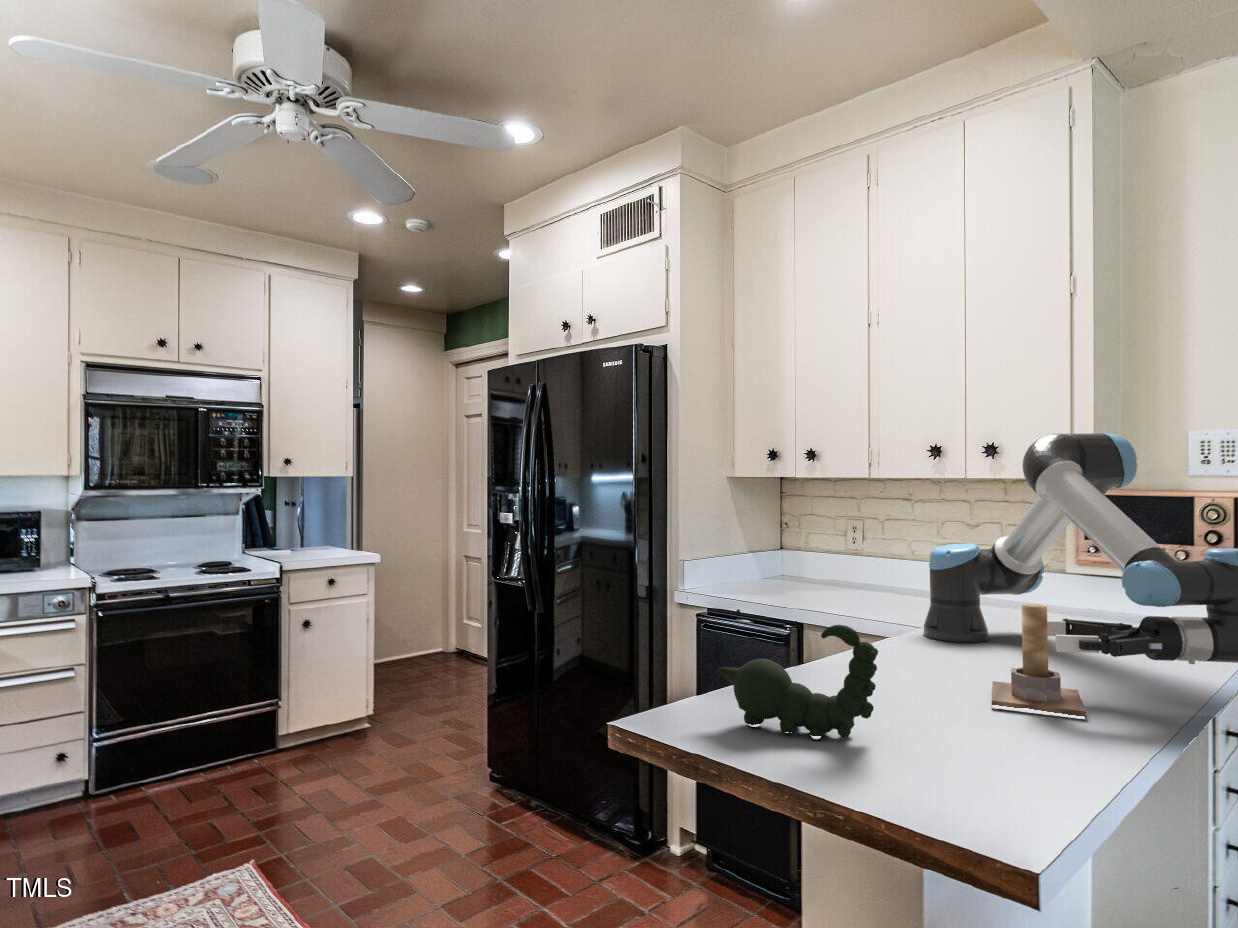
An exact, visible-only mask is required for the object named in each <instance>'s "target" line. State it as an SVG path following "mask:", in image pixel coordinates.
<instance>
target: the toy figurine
mask: <svg viewBox="0 0 1238 928" xmlns="http://www.w3.org/2000/svg"><path fill="white" fill-rule="evenodd" d="M820 637H821V638H822V639H826V638H828V637H836V638H838V639H840V640H841V641H843V643H844V644H846V645H848V646H849V647H853V648H852V656H853V657H852V658H851V659H850V661H849V663H848V674H847V675H846V676H845V678H844V679H843V687H842V688H841V689H839V691H838V692H837V694H836V695H831V696H829V695H826V694H823V693H819V692H814V693H813V692H812V691H811V690H810V688H808V687H807V686H806V685H804V684H803V683H802V684H801V683H800V682H799V683H797V682H792V679H791V676H790V674H789V673H788V672H787V671H786V669H785V668H784V667H783V666H782V665H780V664H779V663H777V662H775V661H773V660H771V659H769V658H757V659H752V660H750V661H747V662H746V663H743V665H741V667H728V666H727V667H726V666H725V667H723V666H722V667H718V668H717V671H718V673H719V674H721V675H722V676H723V677H724V678H725V679H726V680H727V681H728V682H730V683H731V685H733V693H734V697H735V700H736V703H737V704H738V705H737V706H738V708H739V709H740V710H743V712H744V714H743V719H744V721H743V722H744V723H745V724H746V723H747V724H751V725H754V724H755V725H756V724H761V723H762V722H763V723H764V721H765V720H769V719H770V720H772V719H775V718H777V719H778V720H779V721H780V722H779V728H780V729H779V730H780V731H781V732H782V733H784V732H789V733H791V732H793V733H794V732H795V731H797V728H802V727H803V728H804V729H806V730H807V731H808V730H809V731H808V732H809V733H808V734H810V735H812V736H822V737H823V736H824V734H827V732H828V733H830V732H831V731H833V730H837V735H839V736H840V737H841V738H848V737H849V736H850V735H851V733H852V729H853V728H854V726H855V721H854V720H855V718H856V717H861V718H863V719H866V720H867V719H869V718H870V717H872V712H873V713H874V705H873V704H872V703H871V702H869V701H868V698H870V697H871V696H873V693H874V691H875V690H876V685H877V684H876V683H875V682H873V681H872V679H873V678H874V676H875V674H876V672H877V670H878V667H877V664H876V663H875V662H874V661H876V659H877V657H878V654H879V650H878V648H877V647H874V645H873V644H872V643H870V642H868V641H860V635H859V633H858V632H857V631H856V630H855V629H854V628H852V627H851V626H848V625H843V624H833V625H831V626H829V627H827V628H825V629H824V630H823V631H822V633H821V636H820ZM747 724H746V725H747ZM823 733H824V734H823ZM810 735H809V736H810Z"/></svg>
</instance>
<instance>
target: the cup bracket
mask: <svg viewBox="0 0 1238 928" xmlns="http://www.w3.org/2000/svg"><path fill="white" fill-rule="evenodd" d="M1010 672H1011V673H1010V674H1011V682H1004V681H1003V682H1002V681H992V685H991V686H992V688H991V706H992V705H999V706H1007V707H1014V708H1029V709H1034V710H1041V711H1047V712H1054V713H1062V714H1068V715H1076V716H1084V717H1085V718H1086V709H1085V706H1084V704H1083V701H1082V699H1081V695H1080V693H1079V690H1078V689H1070V688H1061V686H1062V685H1061V684H1062V683H1061V682H1062V681H1061V674H1060V672H1057V671H1053V670H1049V669H1048V677H1034V676H1027V675H1023V666H1022V667H1012V668H1011V669H1010Z"/></svg>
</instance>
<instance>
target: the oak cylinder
mask: <svg viewBox="0 0 1238 928" xmlns="http://www.w3.org/2000/svg"><path fill="white" fill-rule="evenodd" d="M1047 621H1048V606H1047V605H1045V604H1044V605H1043V604H1037V603H1023V604H1021V638H1022V641H1021V643H1022V644H1021V645H1022V650H1021V651H1022V667H1023V675H1027V676H1034V677H1048V670H1049V639H1048V638H1049V636H1048V629H1047Z"/></svg>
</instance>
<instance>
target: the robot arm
mask: <svg viewBox="0 0 1238 928" xmlns="http://www.w3.org/2000/svg"><path fill="white" fill-rule="evenodd" d="M1137 460H1138V457H1137V454H1136V451H1135V449H1134V446H1133V445H1132V444H1131V442H1130V441H1129V440H1128V439H1127V438H1126V437H1124V436H1122V435H1120V434H1117V433H1116V434H1115V433H1106V432H1100V433H1051V434H1047V435H1044V436H1042V437H1040V438H1038V439H1036V440H1035V441H1033V443H1031V445H1029V447H1028V448H1027V449H1026V452H1025V453H1024V456H1023V459H1022V472H1023V476H1024V478H1025V481H1026V482H1027V484H1028V485H1029V487H1030V488H1031V489H1032V490H1033V492H1035V494H1037V496H1038V498H1036V500H1035V501H1034V502H1033V504H1032V505H1031V506H1030V508H1029V509H1028V511H1027V512H1026V513H1025V514H1024V516H1023V517H1022V518H1021V519H1020V520H1019V522H1018V523H1017V525H1016V526H1015V527H1014V528H1013V530H1012V532H1011V533H1009V535H1004V536H1001V537H999V538H998V539H997V540H996V541H995V542H994V544H993V546H992V547H991V548H982V549H981V548H980V546H979V545H978V544H976V543H954V544H953V543H952V544H945V545H941V546H937V547H934V548H933V549H931V551H930V553H929V562H928V563H929V564H928V567H929V591H930V592H929V595H930V598H929V599H930V602H929V603H930V604H929V608H928V611H927V614H926V616H925V617H926V618H925V620H924V624H923V636H925V637H927V638H930V639H934V640H938V641H946V642H953V643H954V642H955V643H980V642H985V641H988V640H989V629H988V626H987V623H986V620H985V618H984V614H983V613H982V609H981V596H984V595H985V596H986V595H988V596H989V595H1011V596H1012V595H1013V596H1015V595H1016V596H1017V595H1019V596H1020V595H1022V594H1028V593H1029V594H1030V593H1032V592H1033V591H1036V590H1037V589H1038V587H1040V585H1041V583H1043V582H1042V581H1043V578H1044V576H1043V574H1045V568H1044V562H1043V556H1044V554H1045V553H1047V551H1048V550H1049V548H1050V547H1051V546H1052V545H1053V544H1054V543H1055V542H1056V540H1057V539H1058V538H1059V537H1060V536H1061V534H1062V533H1063V532H1064V531H1065V530H1066V528H1067V527H1068V526H1069V525H1070V524H1071V523H1073V524H1074V525H1075V526H1076V527H1077V528H1078V529H1079V530H1080V531H1081V532H1082V533H1083V535H1084V536H1085V537H1087V538H1088V539H1089V541H1091V542H1092V544H1093V545H1095V546H1096V548H1098V550H1100V551H1101V553H1103V554H1104V555H1105V556H1106V558H1108V560H1110V561H1111V563H1112V564H1114V565H1115V567H1117V569H1118V570H1120V572H1121V573H1122V574H1121V575H1122V576H1121V586H1122V588H1123V589H1124V590H1125V595H1126V596H1127V598H1128V599H1129V600H1130V601H1131V602H1133V603H1135V604H1137V605H1139V606H1144V607H1156V608H1167V607H1178V606H1179V607H1180V606H1183V607H1184V606H1205V607H1206V613H1207V614H1206V615H1207V617H1200V616H1171V617H1170V616H1155V615H1150V616H1149V615H1148V616H1145V617H1143V618H1142V619H1141V620H1140V623H1139V626H1138V627H1136V626H1133V625H1132V624H1127V623H1123V622H1119V623H1117V622H1115V623H1114V622H1102V621H1091V620H1081V619H1071V618H1070V619H1069V618H1063V619H1062V620H1047V629H1048V637H1055V652H1058V653H1089V654H1090V653H1092V654H1093V653H1094V654H1100V653H1101V654H1103V655H1110V656H1111V657H1114V658H1117V657H1126V656H1128V657H1129V656H1136V655H1137V656H1138V655H1145V656H1146V657H1147V658H1148V659H1149V660H1153V661H1168V662H1169V661H1171V662H1172V661H1185V662H1187V661H1188V664H1189V665H1195V664H1196V661H1198V662H1214V663H1235V664H1238V548H1229V547H1228V548H1223V547H1220V548H1219V547H1216V548H1213V547H1212V548H1208V549H1206V551H1205V553H1204V559H1203V560H1185V561H1184V560H1180V561H1179V560H1176V559H1175V558H1174V557H1173V556H1172V555H1170V553H1168V552H1167V551H1166V550H1165V549H1164V548H1163V547H1161V546H1160V545H1159V544H1158V543H1157V542H1156V541H1155V540H1154V539H1153V538H1152V537H1151V536H1149V535H1148V534H1147V533H1146V531H1144V530H1143V529H1142V528H1141V527H1139V526H1138V524H1136V523H1135V522H1134V521H1133V520H1132V519H1131V518H1130V517H1129V516H1127V515H1126V514H1125V513H1124V512H1123V511H1122V510H1121V509H1120V508H1119V507H1117V506H1116V505H1115V504H1114V503H1113V502H1112V501H1111V500H1110V499H1109V498H1108V497H1107V496H1106V494H1107V492H1108V491H1109V490H1111V489H1113V488H1115V489H1121V488H1124V487H1126V486H1128V485H1130V484H1131V483H1132V482H1133V480H1135V477H1136V474H1137V472H1138V471H1137V470H1138V461H1137Z"/></svg>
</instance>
